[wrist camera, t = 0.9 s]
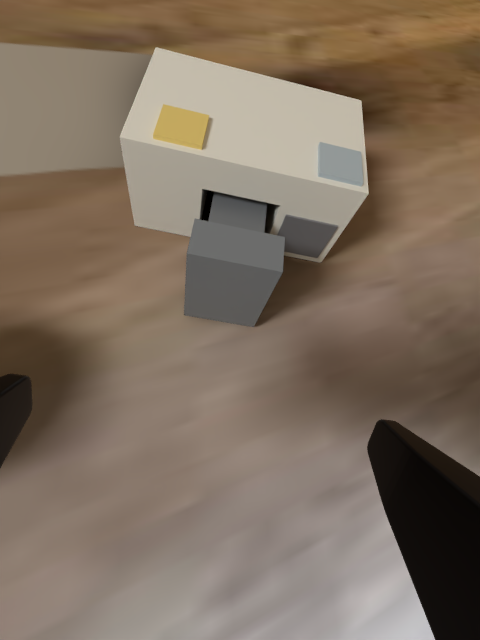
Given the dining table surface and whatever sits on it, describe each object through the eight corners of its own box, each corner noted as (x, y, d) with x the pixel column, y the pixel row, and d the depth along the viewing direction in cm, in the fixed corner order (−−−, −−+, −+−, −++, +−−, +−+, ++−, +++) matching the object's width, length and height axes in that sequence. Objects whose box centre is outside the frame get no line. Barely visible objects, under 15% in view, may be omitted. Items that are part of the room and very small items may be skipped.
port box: (321, 264, 29) (371, 191, 21) (134, 227, 27) (118, 134, 20) (321, 180, 33) (363, 96, 26) (160, 144, 31) (155, 42, 24)
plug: (253, 327, 25) (282, 272, 18) (184, 315, 24) (186, 253, 17) (263, 229, 29) (290, 153, 22) (204, 216, 28) (212, 135, 21)
